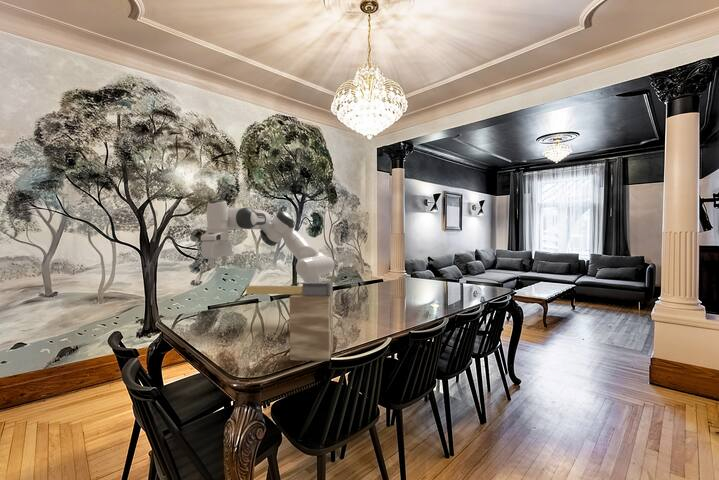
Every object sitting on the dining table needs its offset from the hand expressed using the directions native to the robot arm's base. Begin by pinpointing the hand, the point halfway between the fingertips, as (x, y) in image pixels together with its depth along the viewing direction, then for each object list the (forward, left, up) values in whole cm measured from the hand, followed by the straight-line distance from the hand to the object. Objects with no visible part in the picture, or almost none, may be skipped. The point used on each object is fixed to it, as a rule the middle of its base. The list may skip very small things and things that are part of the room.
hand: (218, 267), depth 143 cm
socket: (+4, +46, -11) cm, 47 cm away
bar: (+4, +27, -11) cm, 29 cm away
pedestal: (+4, +43, -37) cm, 57 cm away
